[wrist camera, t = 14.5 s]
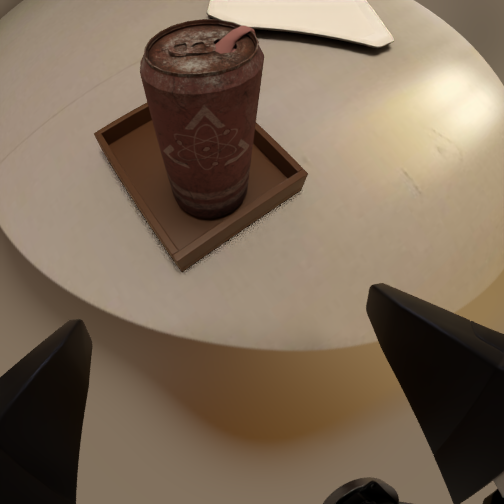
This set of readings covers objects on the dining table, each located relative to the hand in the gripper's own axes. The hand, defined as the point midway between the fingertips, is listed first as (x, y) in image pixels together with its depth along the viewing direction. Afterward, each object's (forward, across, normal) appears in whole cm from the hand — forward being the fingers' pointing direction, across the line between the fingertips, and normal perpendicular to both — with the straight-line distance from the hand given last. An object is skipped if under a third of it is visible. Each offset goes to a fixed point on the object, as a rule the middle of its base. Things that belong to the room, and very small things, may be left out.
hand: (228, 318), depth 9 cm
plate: (+45, -17, -26) cm, 54 cm away
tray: (+20, +1, -1) cm, 20 cm away
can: (+18, 0, +1) cm, 18 cm away
